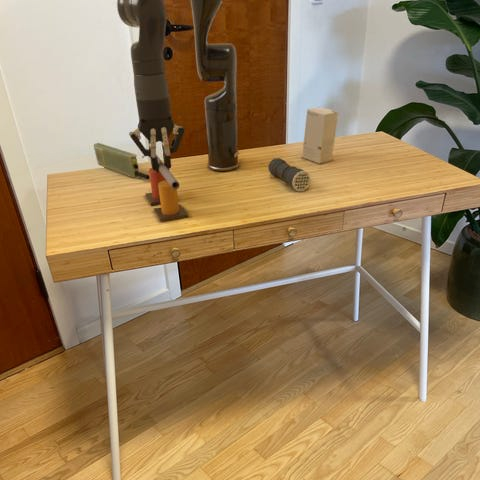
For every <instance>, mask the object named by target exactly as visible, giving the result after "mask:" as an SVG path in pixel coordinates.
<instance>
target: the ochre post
mask: <svg viewBox="0 0 480 480" xmlns="http://www.w3.org/2000/svg"><path fill="white" fill-rule="evenodd" d="M158 188H159V195H160V203H161V204H160V206H159V207H155V208H153V211H154V213H155V215H156V217H157V218H158V220H159V222H160V223H163V222H169V221H174V220H180V219H185V218H189V215H188V213H187V211H186V210H185V208H184V207H183V206H182V204H181V203H180V202H179V195H178V189H176V190H175V189H173V188H172V187H171V186H170V185H169V183H168V182H167V181H166V180H165V181H161V182H159V183H158Z"/></svg>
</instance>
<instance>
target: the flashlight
mask: <svg viewBox="0 0 480 480" xmlns="http://www.w3.org/2000/svg"><path fill="white" fill-rule="evenodd" d="M267 167H268V172H269V174H270V175H271V176H273V177H275V178H277V179H280V180H283V181H284V183H285V184H286V185H288V186H289V187H290V188H292V189H293V190H295V191H296V192H304V191H306V190H307V189H308V188H309V186H310V184H311V175H310V173H309V172H307V171H305V170H304V169H302V168H298V167H296V166H295V165H294V166H291V165H290V164H289V163H287V162H286V160H284V159H282V158H280V157H277V158H273V159H271V161H270V162H269V163H268V166H267Z"/></svg>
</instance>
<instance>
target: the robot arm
mask: <svg viewBox="0 0 480 480" xmlns="http://www.w3.org/2000/svg"><path fill="white" fill-rule="evenodd" d="M222 3H223V0H190V6H191V13H192V19H193V20H192V21H193V31H194V32H193V33H194V47H195V60H196V69H197V74H198V77H199V79H200V80H201V81H202V82H205V83H224V86H223V87H222V88H220V89H219V90H218V91H215V92H213V93H211V94H209V95H207V96H206V97H205V98H204V111H205V112H204V113H205V129H206V142H207V143H206V144H207V145H206V146H207V161H208V164H207V165H208V166H207V167H208V169H210V170H211V171H215V172H229V171H233V170H235V169H237V168H239V155H240V151H239V147H238V146H239V145H238V143H239V142H238V109H237V108H238V106H237V105H238V104H237V51H236V50H237V49H236V48H235V46H234V44H233V43H228V42H227V43H226V42H225V43H208V35H209V31H210V29H211V26H212V24H213V21H214V19H215V17H216V15H217V13H218V11H219V10H220V7H221V5H222ZM116 8H117V14H118V16H119V18H120V21H122V23H124V25H126V26H129V27H130V28H138V40H137V41H135V42H133V43H132V44H131V46H130V60H131V66H132V72H133V87H134V94H135V95H134V96H135V102H136V109H137V115H138V124H137V128H135V130H132V131H129V132H128V135H129V137H130V138H131V140H132V141H133V143H134V144H135V145H136V146H137V148H138V150H139V151H140V152H141V153H142V155H143V156H144V157H148V158H149V157H150V158H149V159H150V166H151V168H152V169H153V170H154V171H155V172H156V173H158V172H159V167H158V159H157V157H156V155H157V143H158V142H160V144H161V147H162V152H163V153H162V158H163V163H164V165H165V166H166V167H167V168H168V170H169V171H170V169H171V168H172V161H171V160H172V159H171V155H172V154H174V153H177V151H178V149H179V148H180V147H179V146H180V144H181V142H182V139H183V136H184V135H185V128H184V127H183V126H182V125H178V124H175V121H174V120H173V118H172V111H171V99H170V89H169V83H168V79H167V74H166V64H165V57H164V45H165V39H166V29H167V8H166V3H165V0H117V1H116ZM172 132H173V134H174V135H173V137H172V140H171V143H169V137H170V135H171V134H172ZM141 134H142V135H143V137H144V138H145V139H146V140H147V145H148V148H146V147H145V146H144V145H143V143H142V142H141V141H140V140H141V139H142V136H141ZM147 149H149V150H147Z"/></svg>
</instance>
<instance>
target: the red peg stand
mask: <svg viewBox="0 0 480 480" xmlns="http://www.w3.org/2000/svg"><path fill="white" fill-rule="evenodd" d="M148 175H149V176H150V178H149V182H150V188H151V189H150V190H151V192H147V193H145V197H146V199H147V201H148V203H149V205H150V206H156V205H157V206H158V205H161V203H160V195H159V188H158V183H159V182H161V181H165V180H166V179H165V178H164V177H163V175H162V174H161V172H160V171H159V172H158V173H156V172H155V171H154V170H153V169H152V167H150V168H149V169H148Z"/></svg>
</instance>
